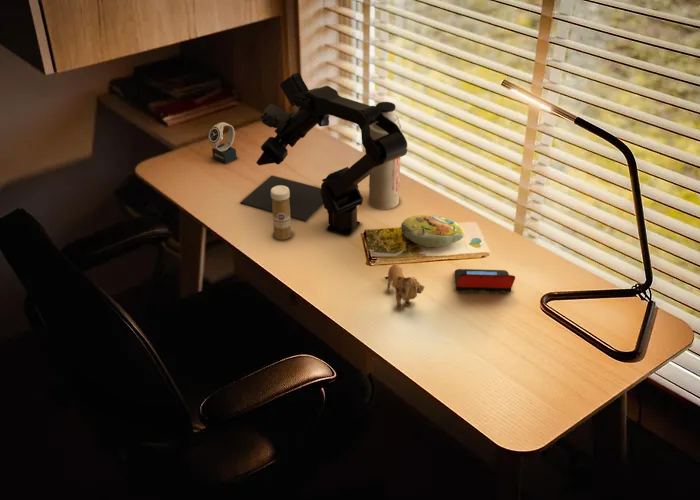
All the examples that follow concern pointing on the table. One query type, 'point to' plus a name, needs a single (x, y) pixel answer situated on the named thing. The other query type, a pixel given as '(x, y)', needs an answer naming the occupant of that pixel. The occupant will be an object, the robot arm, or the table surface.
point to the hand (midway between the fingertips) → (264, 155)
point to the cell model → (431, 230)
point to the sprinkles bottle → (281, 212)
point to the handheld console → (483, 280)
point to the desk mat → (300, 199)
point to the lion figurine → (403, 286)
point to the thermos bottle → (385, 167)
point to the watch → (224, 150)
